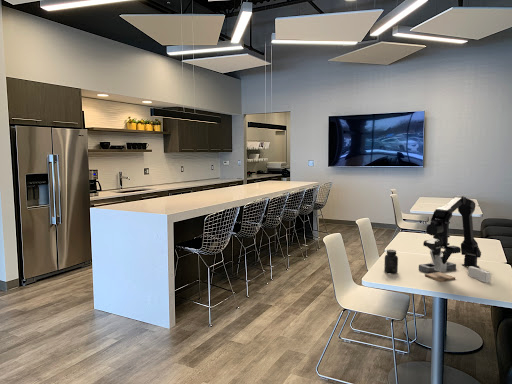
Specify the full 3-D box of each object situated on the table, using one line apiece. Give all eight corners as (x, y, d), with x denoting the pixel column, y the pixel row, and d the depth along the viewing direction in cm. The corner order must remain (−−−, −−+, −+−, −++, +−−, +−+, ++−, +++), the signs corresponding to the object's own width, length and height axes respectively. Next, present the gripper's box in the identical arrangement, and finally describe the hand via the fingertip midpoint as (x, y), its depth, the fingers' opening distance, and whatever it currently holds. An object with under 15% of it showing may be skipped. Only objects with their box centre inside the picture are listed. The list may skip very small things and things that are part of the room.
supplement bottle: (382, 270, 209) (382, 249, 208) (394, 270, 210) (394, 248, 209) (387, 274, 203) (388, 252, 202) (399, 274, 203) (400, 252, 202)
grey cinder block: (445, 266, 218) (445, 261, 217) (456, 269, 211) (456, 264, 211) (418, 270, 210) (418, 264, 210) (428, 273, 204) (428, 268, 203)
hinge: (442, 265, 220) (437, 248, 221) (434, 266, 222) (428, 250, 223) (445, 258, 234) (440, 242, 235) (437, 260, 237) (432, 244, 238)
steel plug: (440, 268, 199) (440, 253, 198) (446, 271, 195) (447, 255, 195) (434, 269, 198) (434, 254, 197) (440, 271, 194) (441, 256, 193)
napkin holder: (462, 274, 203) (463, 264, 203) (487, 276, 200) (487, 266, 199) (469, 283, 189) (469, 272, 189) (495, 285, 186) (495, 274, 185)
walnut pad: (439, 273, 203) (439, 272, 203) (455, 279, 194) (455, 277, 194) (425, 276, 200) (425, 274, 200) (440, 281, 190) (440, 279, 190)
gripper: (415, 230, 200) (414, 259, 202) (445, 237, 183) (443, 269, 185) (431, 229, 204) (430, 257, 206) (462, 236, 187) (460, 267, 189)
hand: (440, 262), depth 196 cm, fingers closed on steel plug, 4 cm apart
